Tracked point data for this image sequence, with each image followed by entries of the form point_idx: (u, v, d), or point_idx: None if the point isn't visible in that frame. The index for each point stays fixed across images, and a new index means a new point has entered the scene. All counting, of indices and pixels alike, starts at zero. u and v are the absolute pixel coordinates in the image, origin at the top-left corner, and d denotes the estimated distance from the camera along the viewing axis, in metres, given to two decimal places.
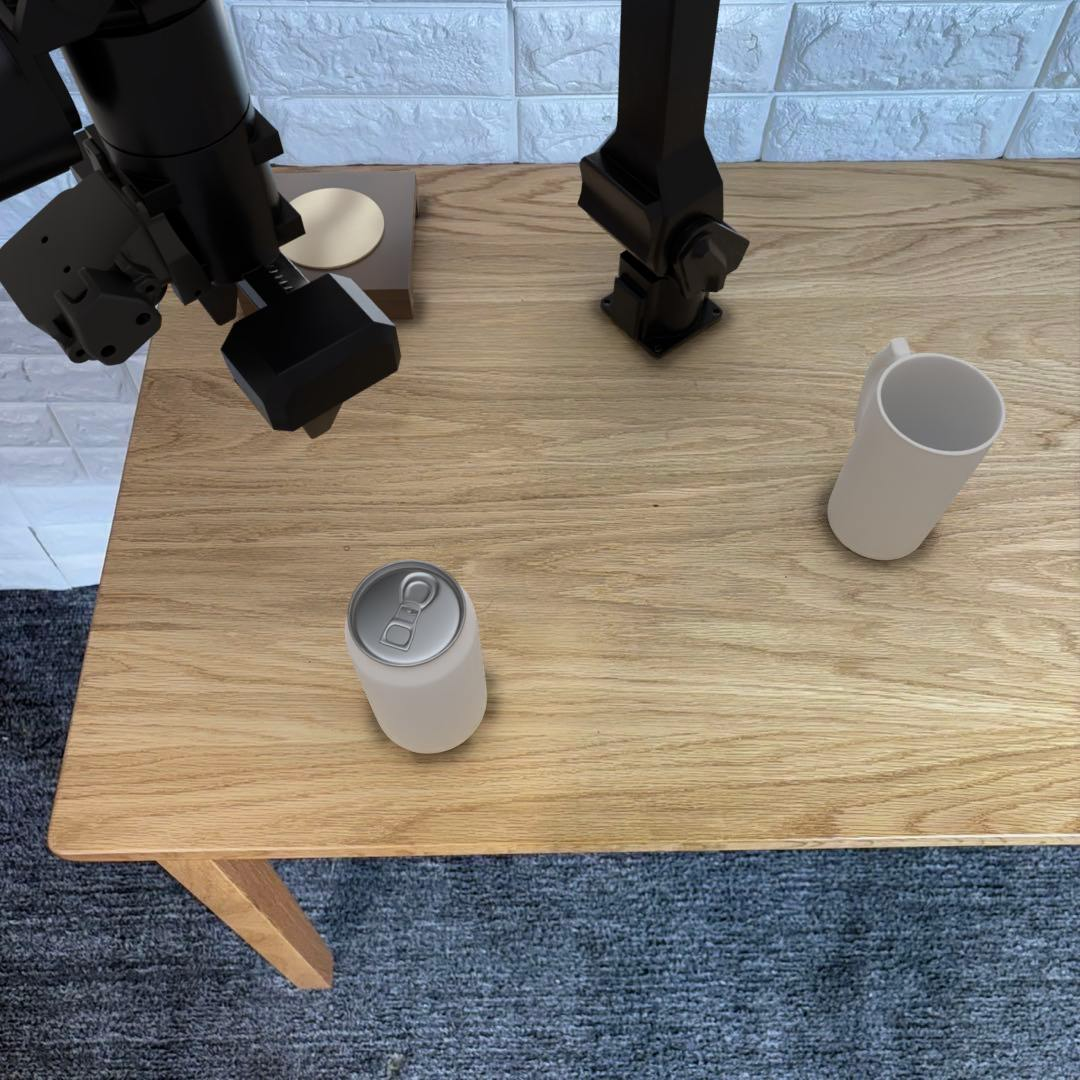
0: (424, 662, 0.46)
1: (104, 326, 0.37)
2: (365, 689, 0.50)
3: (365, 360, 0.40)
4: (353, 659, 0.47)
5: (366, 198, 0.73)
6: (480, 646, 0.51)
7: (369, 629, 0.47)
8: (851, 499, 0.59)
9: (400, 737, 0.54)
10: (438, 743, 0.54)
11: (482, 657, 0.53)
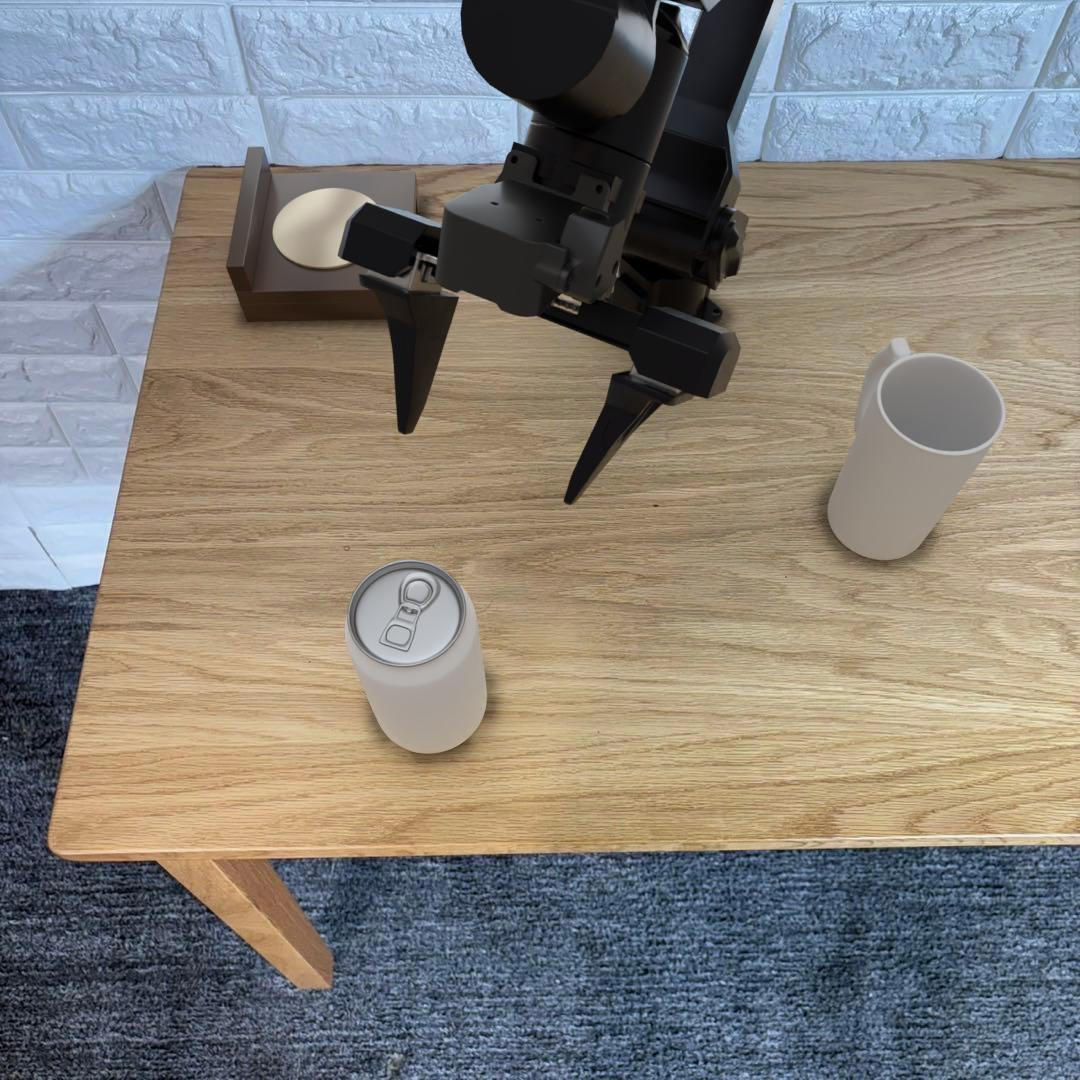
0: (424, 662, 0.46)
1: (611, 251, 0.39)
2: (365, 689, 0.50)
3: (734, 359, 0.46)
4: (353, 659, 0.47)
5: (366, 198, 0.73)
6: (480, 646, 0.51)
7: (369, 629, 0.47)
8: (851, 499, 0.59)
9: (400, 737, 0.54)
10: (438, 743, 0.54)
11: (482, 657, 0.53)
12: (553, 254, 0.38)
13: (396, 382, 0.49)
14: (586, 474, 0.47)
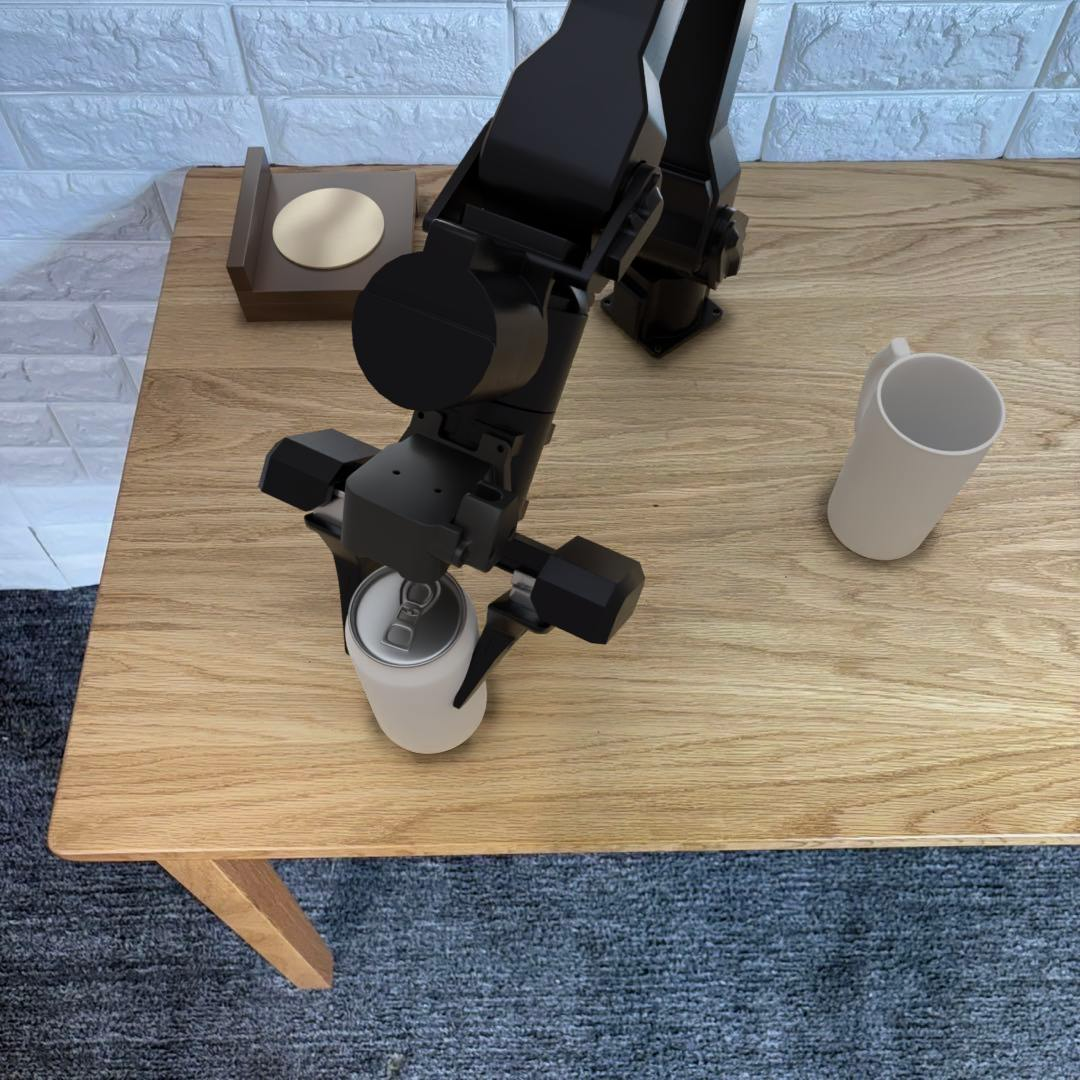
0: (425, 663, 0.46)
1: (504, 526, 0.41)
2: (365, 689, 0.50)
3: (637, 592, 0.47)
4: (354, 660, 0.47)
5: (366, 198, 0.73)
6: None
7: (370, 630, 0.47)
8: (851, 499, 0.59)
9: (400, 737, 0.54)
10: (438, 743, 0.54)
11: None
12: (447, 535, 0.40)
13: (343, 610, 0.50)
14: (472, 684, 0.49)
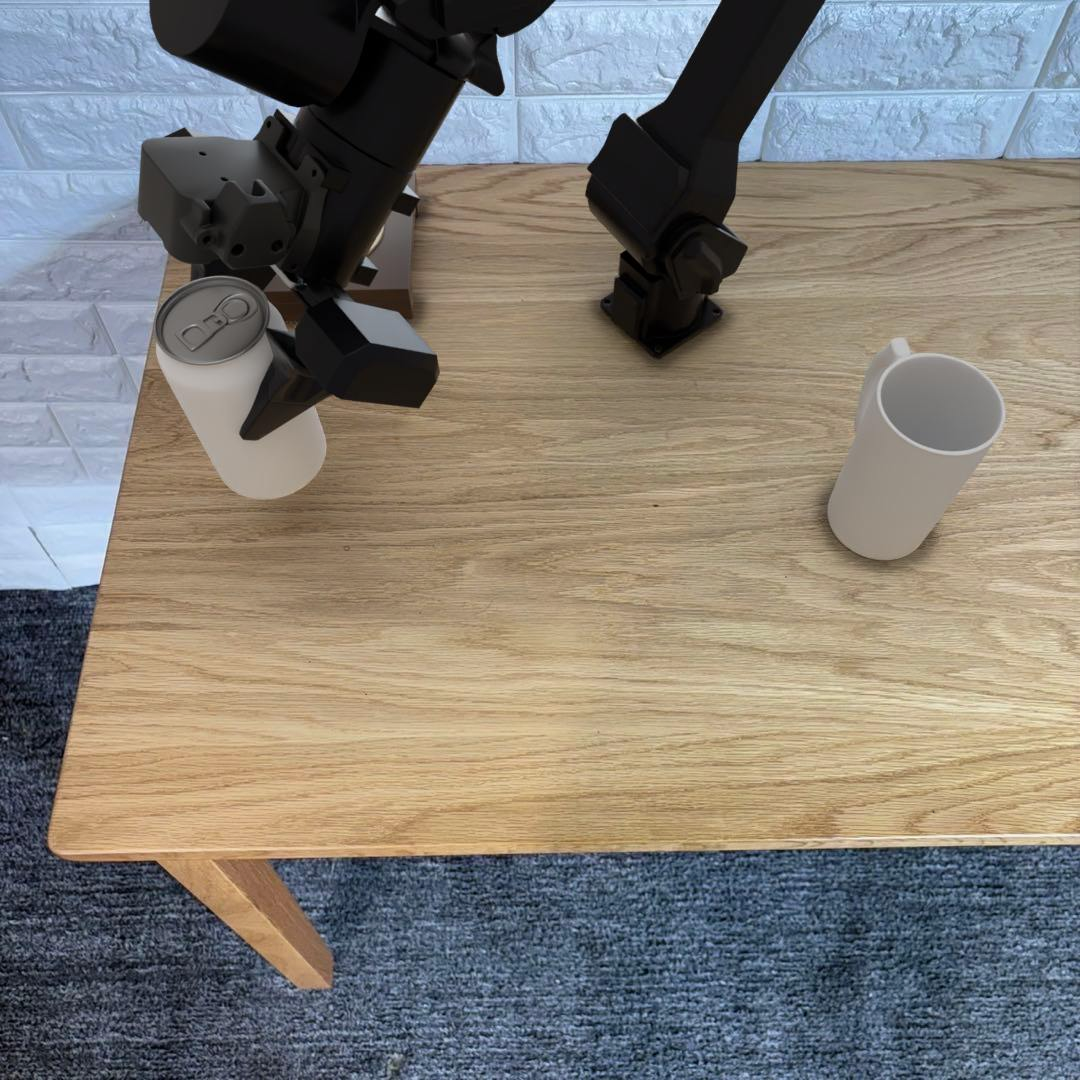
0: (196, 363, 0.47)
1: (257, 227, 0.41)
2: None
3: (417, 379, 0.46)
4: None
5: None
6: None
7: (174, 322, 0.49)
8: (851, 499, 0.59)
9: (213, 463, 0.56)
10: (243, 482, 0.55)
11: (302, 415, 0.53)
12: (196, 210, 0.40)
13: None
14: (254, 415, 0.50)
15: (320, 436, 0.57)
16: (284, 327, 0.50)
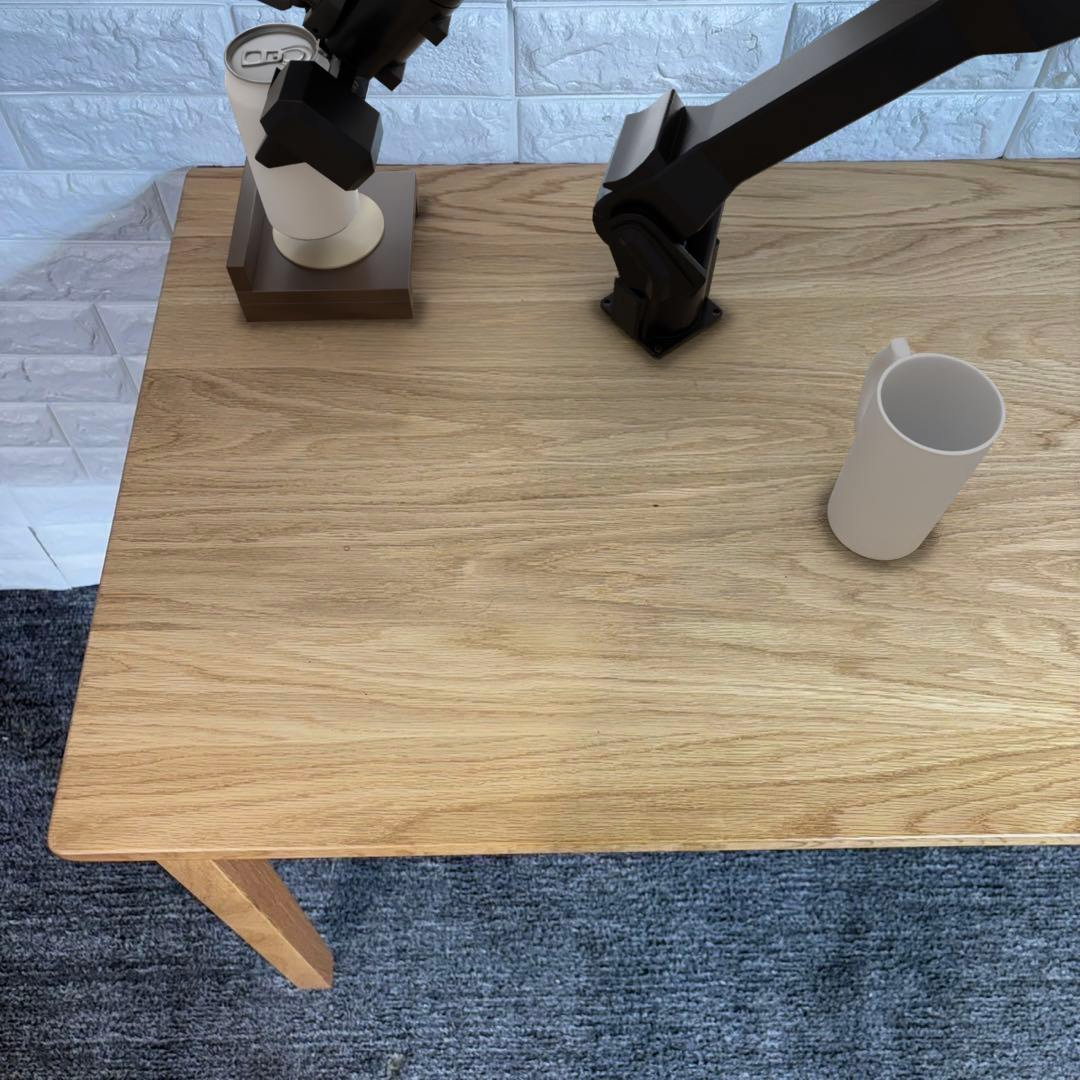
0: (232, 73, 0.58)
1: None
2: None
3: (342, 160, 0.54)
4: None
5: (366, 198, 0.73)
6: None
7: (252, 43, 0.60)
8: (851, 499, 0.59)
9: None
10: (265, 206, 0.67)
11: (316, 173, 0.63)
12: None
13: None
14: (262, 141, 0.60)
15: (340, 208, 0.66)
16: None
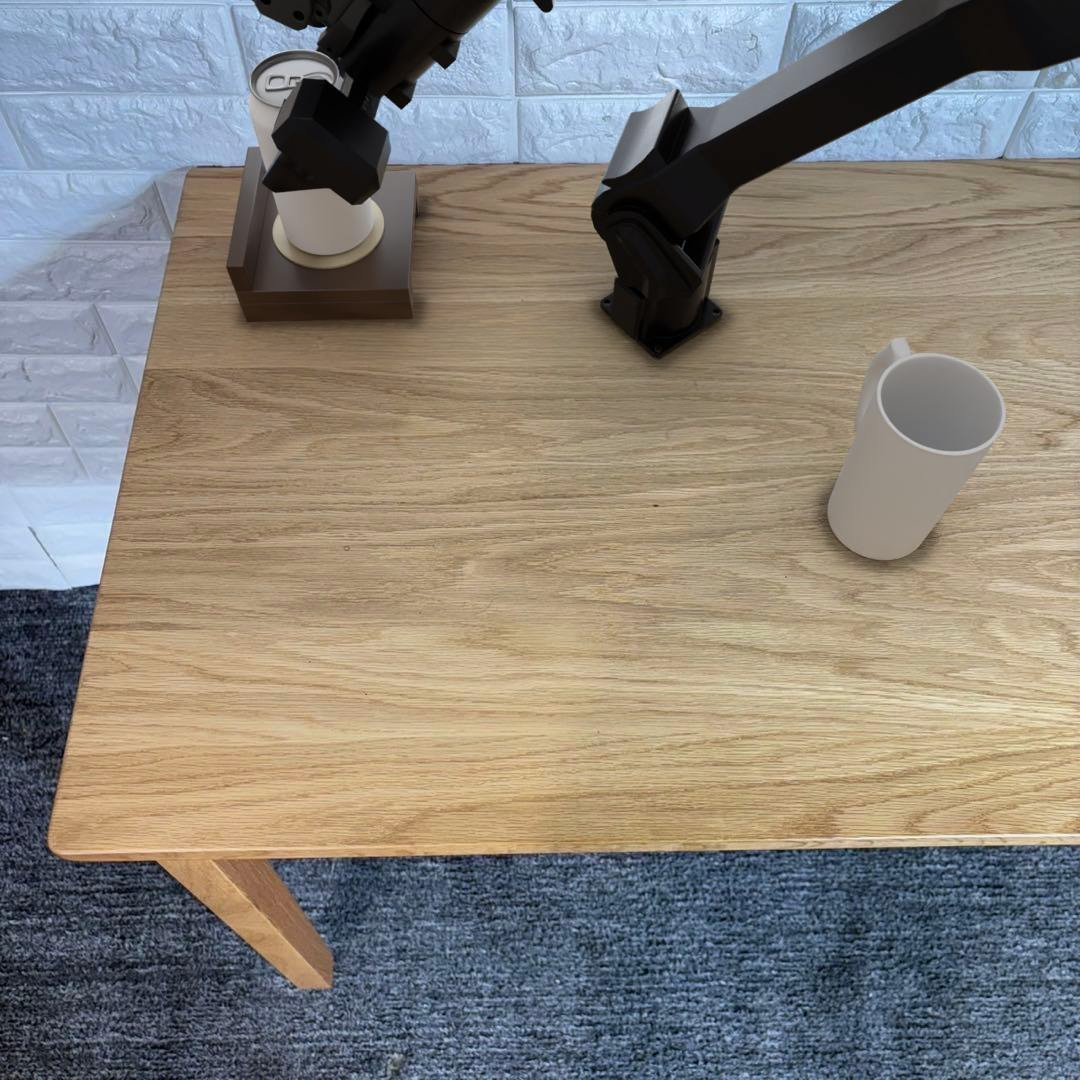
0: (256, 97, 0.61)
1: None
2: None
3: (349, 176, 0.56)
4: None
5: None
6: None
7: (276, 68, 0.63)
8: (851, 499, 0.59)
9: None
10: (283, 222, 0.69)
11: (333, 193, 0.66)
12: None
13: None
14: (269, 168, 0.61)
15: (354, 226, 0.69)
16: None
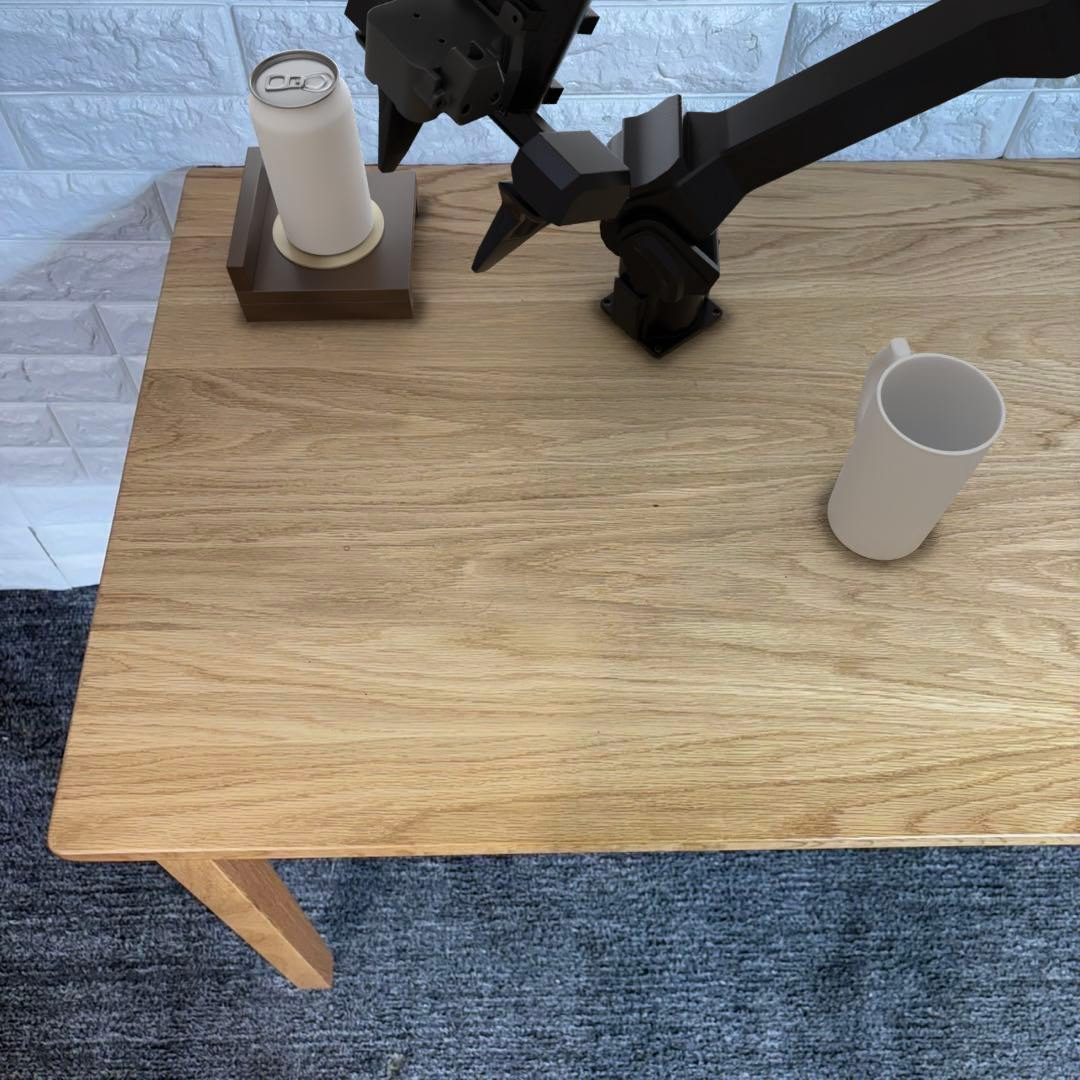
0: (256, 97, 0.61)
1: (480, 87, 0.47)
2: None
3: (616, 195, 0.53)
4: None
5: None
6: (322, 168, 0.64)
7: (276, 68, 0.63)
8: (851, 499, 0.59)
9: None
10: (283, 222, 0.69)
11: (333, 193, 0.66)
12: (428, 79, 0.47)
13: (379, 128, 0.59)
14: (486, 253, 0.57)
15: (354, 226, 0.69)
16: (340, 115, 0.62)
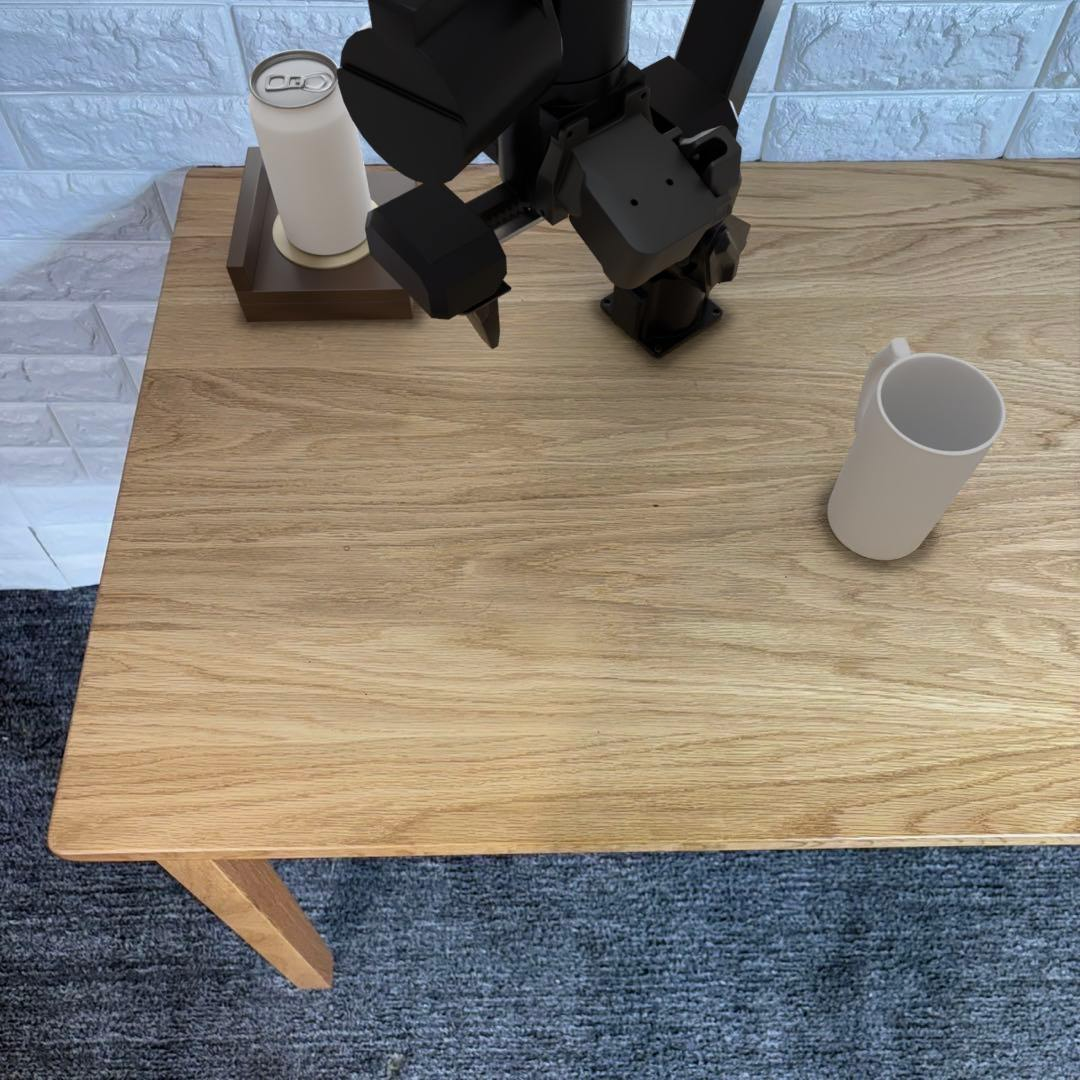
0: (256, 97, 0.61)
1: None
2: None
3: None
4: None
5: None
6: (322, 168, 0.64)
7: (276, 68, 0.63)
8: (851, 499, 0.59)
9: None
10: (283, 222, 0.69)
11: (333, 193, 0.66)
12: (722, 206, 0.43)
13: (487, 329, 0.51)
14: None
15: (354, 226, 0.69)
16: (340, 115, 0.62)
